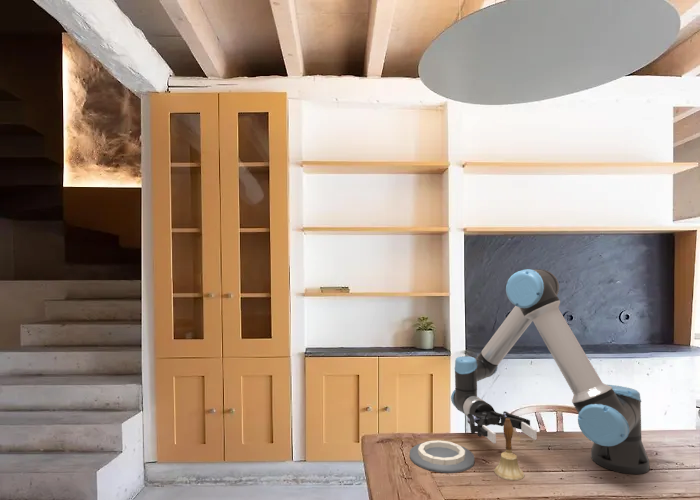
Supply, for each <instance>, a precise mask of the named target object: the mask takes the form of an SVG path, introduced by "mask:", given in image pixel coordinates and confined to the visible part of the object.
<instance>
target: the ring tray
mask: <svg viewBox="0 0 700 500" xmlns="http://www.w3.org/2000/svg"><path fill="white" fill-rule="evenodd" d="M409 459H410V461H411V462H412V463H413V464H414V465H416V466H418V467H419V468H421V469H424V470H427V471H430V472H434V473H441V474H454V473H455V474H456V473H461V472H464V471H465V472H466V471H467V470H469V469H471V468H472V467H474V465H475V455H474V453H473V452H472V451H471V450H469V449H468V448H466V447H464V446H462V445H460V444H457V443H455V442H452V441H447V440H440V439H439V440H437V439H436V440H428V441H425V442H422V443H421V442H420V443H418V444H416V445H414V446H412V447H411V448H410V451H409Z"/></svg>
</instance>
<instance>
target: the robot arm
mask: <svg viewBox="0 0 700 500" xmlns="http://www.w3.org/2000/svg"><path fill="white" fill-rule="evenodd" d="M559 289H560V283H559V281H558V278H557V277H556V275H555V274H553V273H552V272H550V271H549V270H546V269H541V268H536V269H528V268H527V269H522V270H519V271H516V272H515V273H513V274H512V275H511V276H510V277H509V278H508V280H507V282H506V287H505V292H506V296H507V299H508V300H509V302H510V303H511V304H512V305H514V307H513V308H512V310H511V311H510V313H509V314H508V315H507V316H506V317H505V319H504V320H503V322H502V323H501V325H500V326H499V327H498V328H497V329H496V330H495V332H494V334H493V335H492V337H491V338H490V340H489V341H488V342H487V343H486V344H485V346H484V347H483V349H482V350H481V352H480V353H478V356H476V358H475V357H472V356H468V355H467V356H457V357H456V358H455V361H454V383H455V384H454V385H455V386H454V387H455V389H454V390H453V391H452V393H451V396H450V400H451V404H453V406H454V407H455V409H456V410H458V411H459V412H461V413H462V414H464V415H465V416H466V418H467V419H466V421H467V423H468V424H469V429H470V434H472V435H473V434H476V433H477V437H485V438H486V439H487V440H489V441H490V442H491V443H492V444H497V433H496V432H495V431H493V430H492V429H491V428H489V427H488V426H490V425H491V426H492V425H493V426H495V425H496V426H500V427H504V423H505V419H506V418H509V419H510V421H511V424H512V427H513V429H517V430H521V433H524V434H525V435H527V436H528V437H529V438H531V439H532V440H537V439H538V438H537V437H538V436H537V434H538V433H537V431H538V430H537V429H535V428H534V427H533V426H531V420H530V419H528V418H524V417H522V416H518V415H515V414H512V413H509V412H508V411H506V410H505V411H503V412H502V413H499V412H497V411H495V409H494V407H493V406H492V405H491V404H489V403H488V402H486V401H485V400H483V399H482V398H480V397H479V396H478V382H479V381H482V380H484V379H486V378H491V377H492V376H494V375H495V374H496V373H497V371H498V366H499V364H500V363H501V362H502V361H503V360H504V358H505V357H506V355H508V353H509V352H510V351H511V350H512V348H513V347H514V346H515V345H516V343H517V341H519V340H520V337H521V336H523V334H524V332H525V331H526V330H527V329H528V328H529V327H530V325H531V324H532V323H533V324H534V326H535V328H536V329H537V332H539V333H538V334H539V335H540V337H541V338H542V340H543V342H544V345H545V346H546V347H547V349H548V351H549V352H550V354H551V356H552V358H553V360H554V362H555V363H556V365H557V367H558V368H559V371H560V372H561V374H562V376H563V378H564V380H565V381H566V383H567V385H568V386H569V389H570V390H571V392H572V393H573V396H572V399H571V403H572V404H573V406H574V409H575V410H576V412H577V424H578V427H579V430H580V431H581V433H582V434H583V435H584V437H586V438H587V439H588V440H589V441H591V442H592V443H593V444H592V447H591V450H590V454H591V455H590V458H591V459H592V461H593V462H594V463H595V464H597V465H598V466H601V467H602V468H604V469H607V470H610V471H614V472H616V473H622V474H628V475H629V474H630V475H642V474H646V473H648V472H649V471H650V460H649V458H648V454H647V452H646V449H645V447H644V443H643V440H642V408H641V407H642V406H641V403H642V399H641V393H640V392H639V390H637V389H635V388H630V387H627V386H621V385H613V384H605V383H603V381H602V380H601V378H600V376H599V374H598V373H597V371H596V369H595V368H594V366H593V364H592V363H591V361H590V359H589V358H588V356H587V354H586V353H585V351H584V348H583V347H582V346H581V344H580V342H579V341H578V339H577V337H576V336H575V334H574V332H573V330H572V329H571V327H570V325H569V324H568V322H567V320H566V319H565V316H563V314H562V312H561V311H560V309H559V307H560V304H561V300H560V298H559V297H558V294H559V291H560V290H559Z"/></svg>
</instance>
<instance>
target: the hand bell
mask: <svg viewBox="0 0 700 500" xmlns="http://www.w3.org/2000/svg"><path fill="white" fill-rule="evenodd" d="M502 427H503V428H502V429H503V436H504V438H505V451H503V452H501V453H500V459H499V464H498V465H497V466H496V467H495V468H494V469H493V472H494V474H495V475H496V476H497V477H498V478H501V479H503V480H507V481H512V482H513V481H520V480H523V479H524V478H525V473H524V471H523V470H522V469H521V467H520V466H519V462H518V455H517V454H515V453H514V452H513V448H512V446H513V445H512V439H513V434H514V428H513V427H512V424H511V421H510V419H509V418H506V419H505V423H504V426H502Z"/></svg>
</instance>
